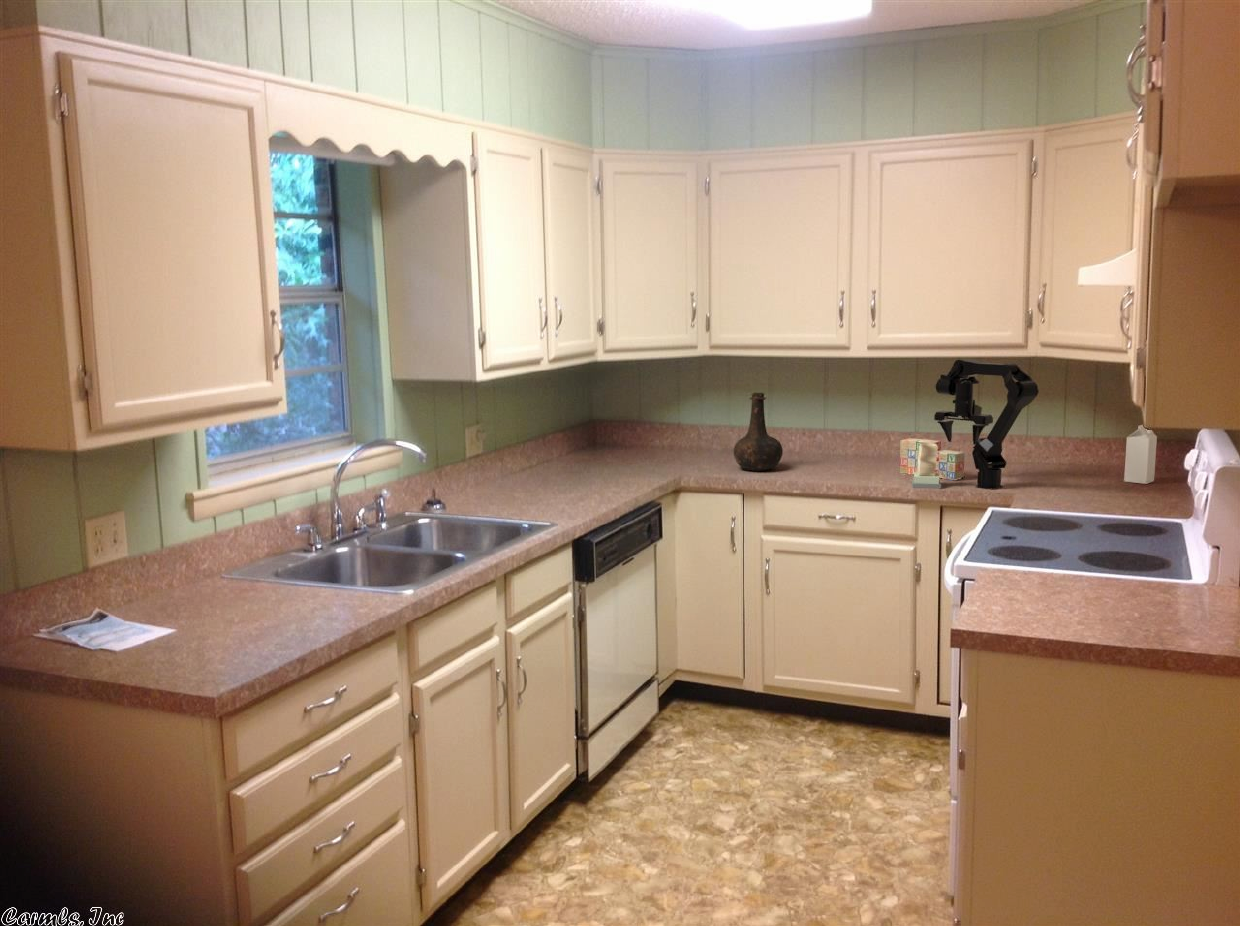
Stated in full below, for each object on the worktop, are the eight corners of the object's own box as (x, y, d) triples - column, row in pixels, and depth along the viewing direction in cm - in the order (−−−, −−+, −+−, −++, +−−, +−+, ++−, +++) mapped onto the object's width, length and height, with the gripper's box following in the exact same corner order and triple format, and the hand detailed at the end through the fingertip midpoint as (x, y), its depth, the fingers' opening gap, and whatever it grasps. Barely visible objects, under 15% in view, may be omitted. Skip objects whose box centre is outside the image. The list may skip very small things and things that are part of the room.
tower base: (939, 485, 360) (939, 479, 360) (941, 491, 351) (941, 484, 351) (911, 485, 362) (911, 478, 362) (912, 490, 353) (912, 483, 353)
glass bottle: (760, 475, 381) (760, 396, 376) (723, 469, 394) (723, 393, 390) (792, 469, 392) (793, 392, 388) (756, 463, 406) (756, 389, 401)
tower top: (939, 479, 359) (939, 473, 359) (938, 484, 352) (939, 477, 351) (914, 478, 361) (914, 472, 361) (913, 483, 354) (913, 476, 354)
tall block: (932, 473, 358) (935, 443, 356) (934, 476, 353) (937, 446, 351) (916, 472, 359) (919, 442, 357) (919, 475, 354) (922, 445, 352)
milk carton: (1123, 481, 357) (1127, 425, 354) (1131, 478, 362) (1135, 422, 359) (1146, 484, 352) (1150, 426, 349) (1154, 481, 357) (1157, 424, 354)
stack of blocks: (964, 478, 368) (965, 443, 366) (954, 481, 364) (956, 445, 362) (908, 471, 384) (909, 437, 382) (899, 474, 379) (900, 439, 377)
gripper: (1002, 396, 357) (1000, 443, 360) (951, 392, 371) (949, 437, 373) (985, 399, 350) (983, 447, 352) (934, 395, 363) (932, 441, 366)
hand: (962, 443), depth 361 cm, fingers open, 9 cm apart
